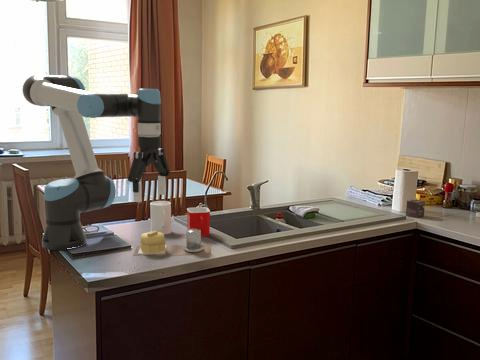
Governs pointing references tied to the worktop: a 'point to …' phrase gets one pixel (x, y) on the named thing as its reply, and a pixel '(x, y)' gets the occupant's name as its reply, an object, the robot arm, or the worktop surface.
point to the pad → (151, 253)
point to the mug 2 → (199, 219)
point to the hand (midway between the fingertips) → (150, 198)
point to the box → (415, 208)
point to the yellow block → (152, 242)
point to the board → (177, 251)
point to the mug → (161, 216)
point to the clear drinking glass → (193, 241)
